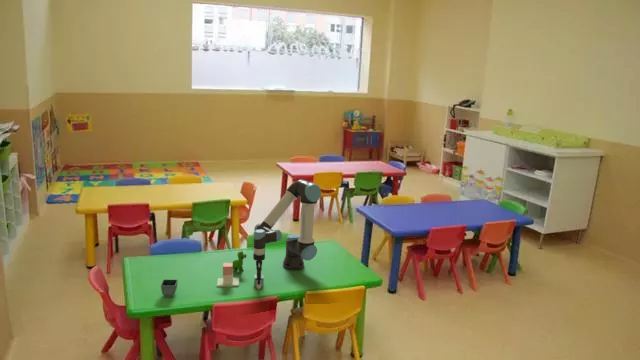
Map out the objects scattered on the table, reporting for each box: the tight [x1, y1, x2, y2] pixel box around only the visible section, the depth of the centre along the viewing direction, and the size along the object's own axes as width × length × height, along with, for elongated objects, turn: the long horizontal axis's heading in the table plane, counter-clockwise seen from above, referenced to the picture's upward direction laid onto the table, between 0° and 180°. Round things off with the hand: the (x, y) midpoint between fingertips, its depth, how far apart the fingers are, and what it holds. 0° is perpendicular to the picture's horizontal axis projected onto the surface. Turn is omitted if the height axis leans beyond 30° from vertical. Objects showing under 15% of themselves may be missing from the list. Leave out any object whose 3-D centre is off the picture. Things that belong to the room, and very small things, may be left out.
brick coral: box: [222, 262, 234, 276], centre depth 350 cm, size 6×6×6 cm
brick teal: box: [253, 273, 265, 288], centre depth 351 cm, size 6×6×6 cm
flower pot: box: [160, 278, 179, 298], centre depth 331 cm, size 9×9×9 cm
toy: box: [231, 250, 248, 274], centre depth 369 cm, size 6×14×15 cm, turn 78°
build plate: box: [216, 272, 240, 288], centre depth 352 cm, size 14×11×7 cm
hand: (258, 284), depth 352 cm, fingers open, 11 cm apart
